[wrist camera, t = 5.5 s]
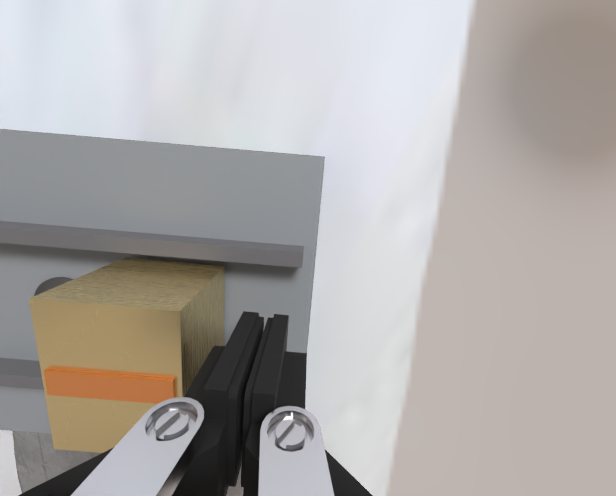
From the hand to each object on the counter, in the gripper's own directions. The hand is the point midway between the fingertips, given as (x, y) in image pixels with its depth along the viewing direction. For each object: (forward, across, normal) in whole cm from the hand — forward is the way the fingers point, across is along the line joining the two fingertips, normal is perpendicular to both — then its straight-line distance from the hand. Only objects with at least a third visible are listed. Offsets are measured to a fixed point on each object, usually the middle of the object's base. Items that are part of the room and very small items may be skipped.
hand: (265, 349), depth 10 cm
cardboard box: (+2, +4, 0) cm, 4 cm away
